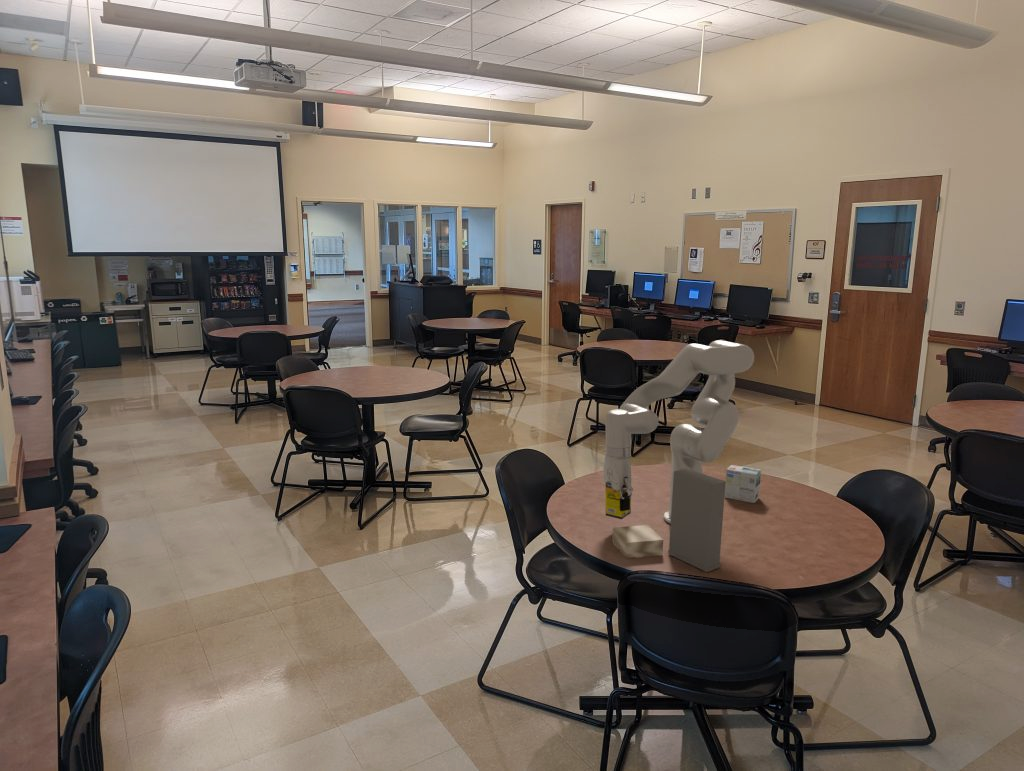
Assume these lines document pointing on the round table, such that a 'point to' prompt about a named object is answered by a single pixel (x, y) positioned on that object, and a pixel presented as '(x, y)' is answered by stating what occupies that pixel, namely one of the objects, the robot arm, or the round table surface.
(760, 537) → the round table surface
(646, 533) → the birch block
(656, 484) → the round table surface
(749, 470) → the light bulb box
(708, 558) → the upright grey panel
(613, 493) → the supplement box
